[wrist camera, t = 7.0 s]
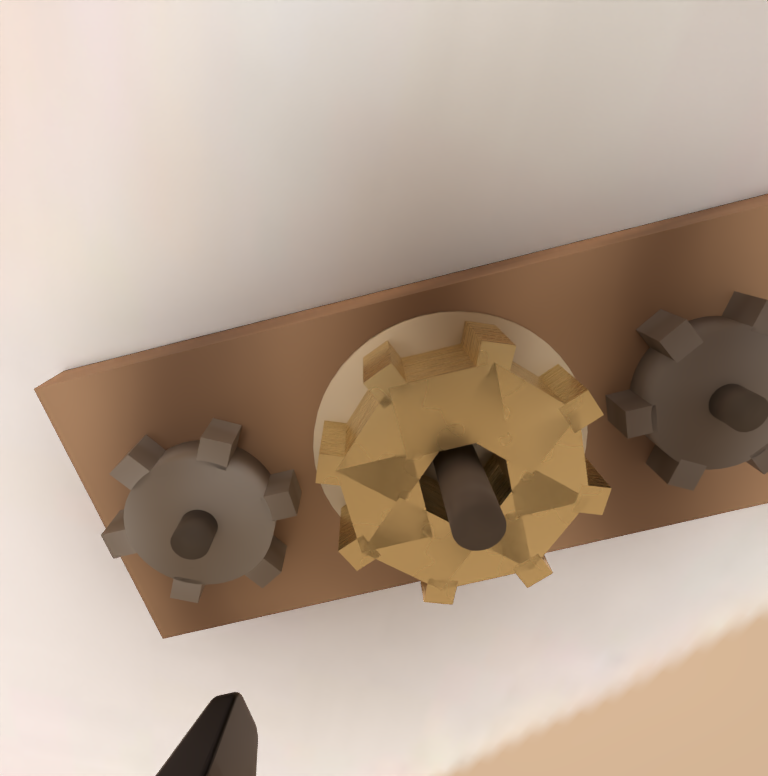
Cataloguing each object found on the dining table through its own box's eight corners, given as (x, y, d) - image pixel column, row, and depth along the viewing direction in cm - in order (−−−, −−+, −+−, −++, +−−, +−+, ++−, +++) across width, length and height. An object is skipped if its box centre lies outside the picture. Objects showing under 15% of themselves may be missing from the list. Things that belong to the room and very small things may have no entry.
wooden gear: (561, 296, 14) (593, 313, 12) (589, 523, 16) (619, 567, 14) (294, 363, 14) (283, 389, 12) (362, 575, 16) (362, 624, 14)
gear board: (782, 190, 14) (1014, 188, 9) (775, 469, 18) (946, 584, 12) (63, 370, 15) (-85, 460, 10) (178, 604, 19) (107, 762, 13)
